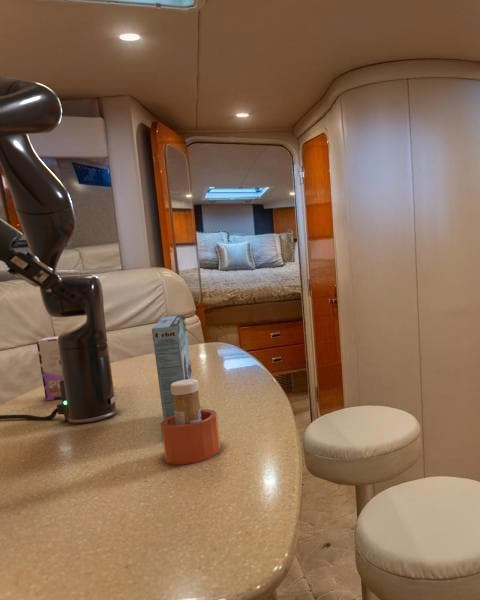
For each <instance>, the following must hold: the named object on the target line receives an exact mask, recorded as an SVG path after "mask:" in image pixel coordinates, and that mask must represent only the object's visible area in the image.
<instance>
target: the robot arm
mask: <svg viewBox="0 0 480 600" xmlns="http://www.w3.org/2000/svg"><path fill="white" fill-rule="evenodd" d="M62 115H63V109H62V104H61V101H60V99H59V97H58V96H57V94H56V93H55V92H54V91H53V90H52V89H51V88H49V87H48V86H46V85H44V84H42V83H39V82H36V81H32V80H26V79H21V78H16V77H11V76H3V75H0V166H1V169H2V172H3V174H4V178H5V181H6V183H7V186H8V189H9V192H10V195H11V198H12V202H13V206H14V209H15V212H16V215H17V218H18V221H19V224H20V227H21V229H22V232H23V233H22V232H21V231H20V230H18V229H17V228H16V227H14V226H13V225H11V224H9V223H8V222H7V221H5V220H4V219H2V218H1V217H0V261H1V262H2V263H4V264H5V265H6V268H8V270H6V272H7V273H9V274H10V275H12V276H14V277H15V278H17V279H22V280H23V281H25V282H26V283H28V284H29V285H31V286H33V287H35V288H37V287H38V288H39V292H40V297H41V299H42V303H43V306H44V309H45V311H46V312H47V314H48V315H49V316H50V317H51V318H71V317H72V318H73V317H83V316H86V319H85V322H83V323H82V324H81V325H80V326H78V327H75V328H74V329H71V330H69V331H67V332H64V333H61V334H59V335H58V336H59V337H58V348H59V355H60V361H61V368H62V375H63V380H61V381H60V390H61V397H62V398H61V403H58V404H56V408H54V409H53V410H52V412H51V413H50V414H49V415H47V416H37V415H33V414H32V415H31V414H0V420H12V419H15V420H17V419H24V420H25V419H26V420H32V421H49V420H53V418H55V417H56V415H63V417H64V418H63V419H64V422H68V423H70V424H87V423H88V424H89V423H93V422H98V421H102V420H105V419H108V418H110V417H113V416H114V415H116V414H117V413H118V407H117V404H116V401H118V400H117V399H118V398H117V394H115V388H114V381H113V373H112V364H111V357H110V351H109V343H108V336H107V327H106V319H105V318H106V317H105V305H104V304H105V303H104V291H103V286H102V282H101V280H100V279H99V277H98V276H96V275H95V274H84V275H83V274H82V275H66V276H65V275H63V276H60V275H59V274H58V272H57V271H58V270H57V268H58V263H59V261H60V259H61V256H62V254H63V252H64V250H65V249H66V248H67V245H68V244H69V242H70V241H71V239H72V237H73V235H74V233H75V231H76V228H77V219H76V215H75V211H74V207H73V202H72V200H71V199H72V198H71V197H70V193H69V192H68V190H67V189H66V187H65V186H64V184H63V183H62V182H61V181H60V179H58V177H57V176H56V175H55V174H54V172H52V171H51V169H50V168H49V167H48V166H47V165H46V164H45V163H44V162H43V161H42V159H41V158H40V157H39V155H38V154H37V152H36V151H35V149H34V148H33V145H32V143H31V140H30V138H29V135H44V134H48V133H51V132H53V131H54V130H55V129H57V127H58V126H59V125H60V123H61V120H62ZM23 234H24V237H25V241H26V243H27V245H28V249H29V251H26V252H25V253H24V252H21V251H17V250H15V249H14V245H16V244H17V243H18V242H19V241H20V240H21V239H22V238H23Z"/></svg>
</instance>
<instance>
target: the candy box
mask: <svg viewBox="0 0 480 600" xmlns="http://www.w3.org/2000/svg"><path fill="white" fill-rule="evenodd" d="M59 336H60V335H55V336H45V337H43V338H40V339H37V340H36V341H35V342H36V347H37V353H38V360H39V366H40V372H41V379H42V384H43V392H44V399H45V401H54V400H60V399H61V400H62V397H61V390H60V381H61V380H63V375H62V368H61V361H60V355H59V348H58V337H59Z"/></svg>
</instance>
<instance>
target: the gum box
mask: <svg viewBox="0 0 480 600" xmlns="http://www.w3.org/2000/svg"><path fill="white" fill-rule="evenodd" d="M151 334H152V341H153V348H154V356H155V364H156V373H157V380H158V387H159V395H160V401H161V410H162V418H163V419H162V420H164V419H166V418H167V417H169V416H172V415H175V414H174V402H173V396H172V394H171V384H172V383H174V382H176V381H180V380H186V379H194V377H193V369H192V361H191V353H190V347H189V337H188V332H187V324H186V315H184V314H179V315H178V314H177V315H171V316H163V317H162V318H161V319H160V320H159V321H158V322H157V323H156V324H155V325H154V326H153V327H152V328H151Z"/></svg>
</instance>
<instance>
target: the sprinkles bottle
mask: <svg viewBox="0 0 480 600" xmlns="http://www.w3.org/2000/svg"><path fill="white" fill-rule="evenodd" d="M199 390H200V385H199V380H198V379H195V378H193V379H186V380H180V381H176V382H174V383H172V384H171V394H172V396H173V402H174V414H175V422H176V425H185V424H191V423H195V422H199V421H202V417H201V403H200V394H199Z"/></svg>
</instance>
